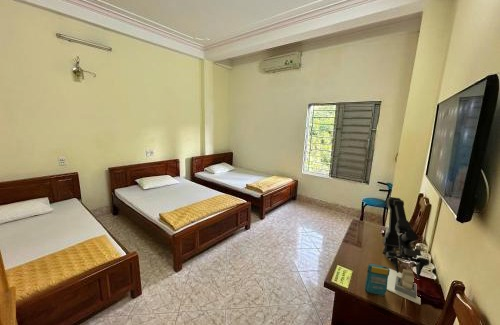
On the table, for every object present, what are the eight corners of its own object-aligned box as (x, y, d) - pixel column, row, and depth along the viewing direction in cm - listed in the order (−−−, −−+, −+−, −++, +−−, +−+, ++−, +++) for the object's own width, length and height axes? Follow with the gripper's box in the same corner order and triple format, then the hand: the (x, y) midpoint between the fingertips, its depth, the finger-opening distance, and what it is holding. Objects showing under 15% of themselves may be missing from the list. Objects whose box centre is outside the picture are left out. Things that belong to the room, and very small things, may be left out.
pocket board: (389, 269, 128) (389, 264, 128) (420, 281, 119) (421, 276, 119) (385, 289, 113) (386, 284, 112) (420, 304, 104) (421, 299, 103)
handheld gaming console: (383, 291, 112) (388, 266, 108) (386, 297, 108) (391, 272, 105) (363, 287, 114) (368, 263, 111) (365, 293, 110) (370, 268, 107)
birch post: (399, 284, 116) (403, 269, 114) (408, 286, 114) (411, 271, 112) (402, 290, 112) (405, 274, 110) (410, 292, 111) (414, 276, 109)
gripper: (390, 238, 116) (392, 268, 108) (431, 246, 110) (437, 278, 102) (384, 242, 125) (386, 271, 117) (422, 250, 119) (426, 281, 111)
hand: (408, 275), depth 112 cm, fingers open, 9 cm apart
